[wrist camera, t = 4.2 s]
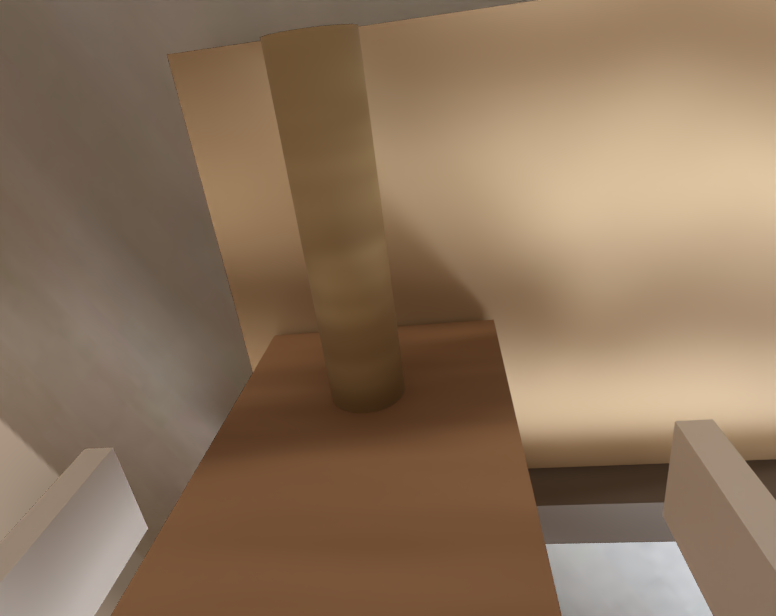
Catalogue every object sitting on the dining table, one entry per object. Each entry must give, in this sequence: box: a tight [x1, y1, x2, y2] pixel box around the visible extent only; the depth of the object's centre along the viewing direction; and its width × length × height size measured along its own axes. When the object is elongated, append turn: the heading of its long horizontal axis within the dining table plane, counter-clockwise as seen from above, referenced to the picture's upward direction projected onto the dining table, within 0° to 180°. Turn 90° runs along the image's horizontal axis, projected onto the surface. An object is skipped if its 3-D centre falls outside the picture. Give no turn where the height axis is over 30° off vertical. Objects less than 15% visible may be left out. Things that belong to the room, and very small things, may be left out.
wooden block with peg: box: [111, 24, 562, 616], centre depth 9 cm, size 12×6×10 cm, turn 7°
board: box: [167, 0, 776, 544], centre depth 13 cm, size 14×24×4 cm, turn 97°
